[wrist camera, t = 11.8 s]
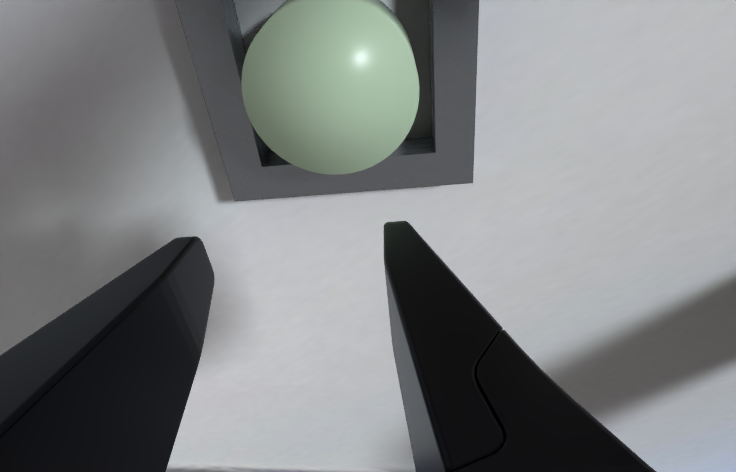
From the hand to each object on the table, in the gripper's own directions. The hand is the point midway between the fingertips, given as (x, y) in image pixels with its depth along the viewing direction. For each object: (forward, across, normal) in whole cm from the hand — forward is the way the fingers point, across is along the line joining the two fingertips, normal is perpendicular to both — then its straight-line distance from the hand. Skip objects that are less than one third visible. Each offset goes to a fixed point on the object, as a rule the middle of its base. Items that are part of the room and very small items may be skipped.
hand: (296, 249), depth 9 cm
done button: (+10, 0, 0) cm, 10 cm away
